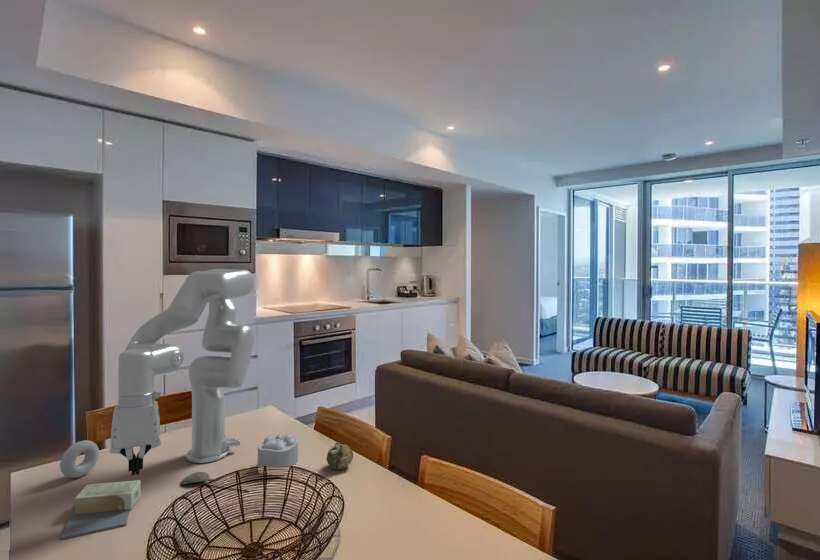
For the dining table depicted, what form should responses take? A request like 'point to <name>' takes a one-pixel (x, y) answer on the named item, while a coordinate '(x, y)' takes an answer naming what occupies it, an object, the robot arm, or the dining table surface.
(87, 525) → the mat
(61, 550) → the dining table surface
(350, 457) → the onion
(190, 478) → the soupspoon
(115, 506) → the skincare box
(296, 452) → the lumpy-topped squat cylinder
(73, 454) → the donut
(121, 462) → the dining table surface
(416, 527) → the dining table surface
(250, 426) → the dining table surface
